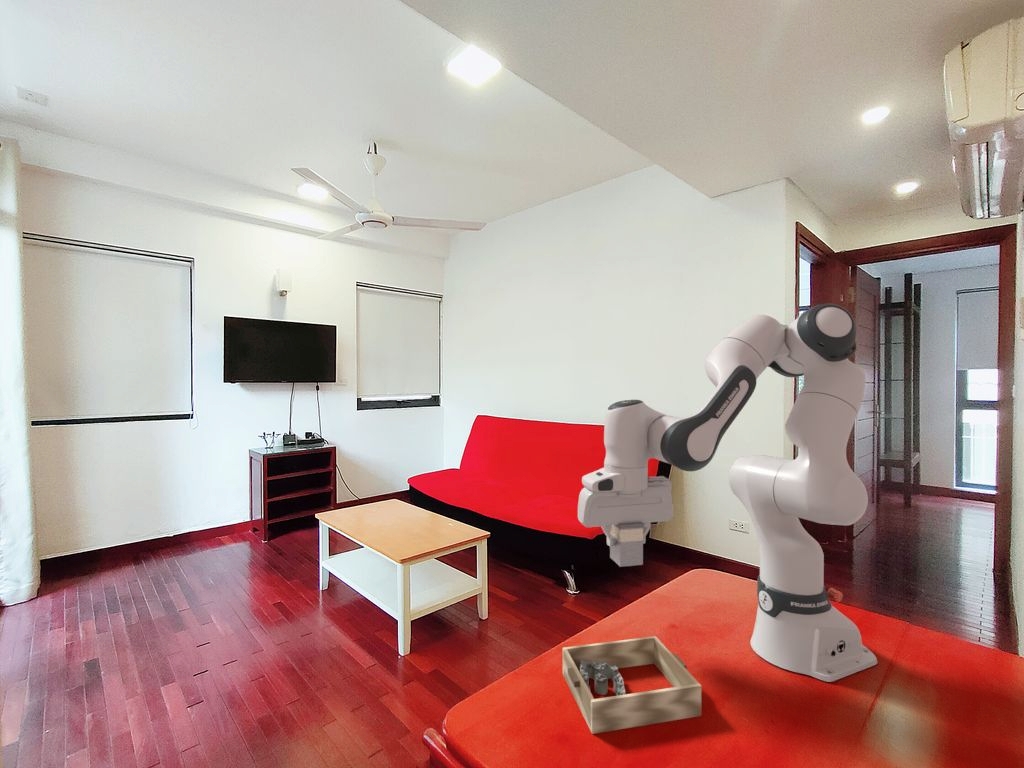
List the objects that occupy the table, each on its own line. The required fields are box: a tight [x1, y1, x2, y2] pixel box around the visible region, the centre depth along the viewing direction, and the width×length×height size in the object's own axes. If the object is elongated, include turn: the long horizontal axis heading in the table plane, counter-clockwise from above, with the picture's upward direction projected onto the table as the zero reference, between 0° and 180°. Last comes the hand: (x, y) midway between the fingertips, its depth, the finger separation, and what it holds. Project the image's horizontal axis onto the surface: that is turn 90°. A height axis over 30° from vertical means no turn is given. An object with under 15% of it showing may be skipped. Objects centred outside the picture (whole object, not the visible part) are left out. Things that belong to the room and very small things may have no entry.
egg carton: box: [580, 660, 627, 696], centre depth 81 cm, size 11×8×4 cm
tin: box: [609, 522, 644, 568], centre depth 97 cm, size 5×5×8 cm
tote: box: [562, 635, 702, 735], centre depth 82 cm, size 21×15×5 cm
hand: (626, 544), depth 97 cm, fingers closed on tin, 5 cm apart
